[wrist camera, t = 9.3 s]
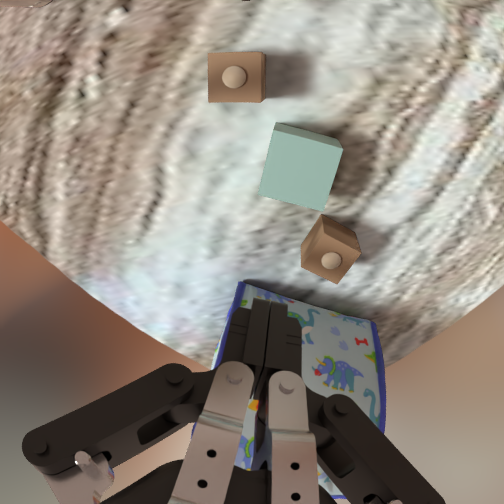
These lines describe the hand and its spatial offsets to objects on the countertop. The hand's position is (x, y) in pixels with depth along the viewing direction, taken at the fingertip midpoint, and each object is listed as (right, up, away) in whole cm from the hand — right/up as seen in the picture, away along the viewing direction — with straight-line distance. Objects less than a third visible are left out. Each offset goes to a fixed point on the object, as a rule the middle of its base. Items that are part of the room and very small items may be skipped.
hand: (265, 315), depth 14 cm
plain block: (+5, +13, +22) cm, 26 cm away
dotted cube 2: (-2, +22, +17) cm, 28 cm away
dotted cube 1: (+9, +4, +26) cm, 28 cm away
